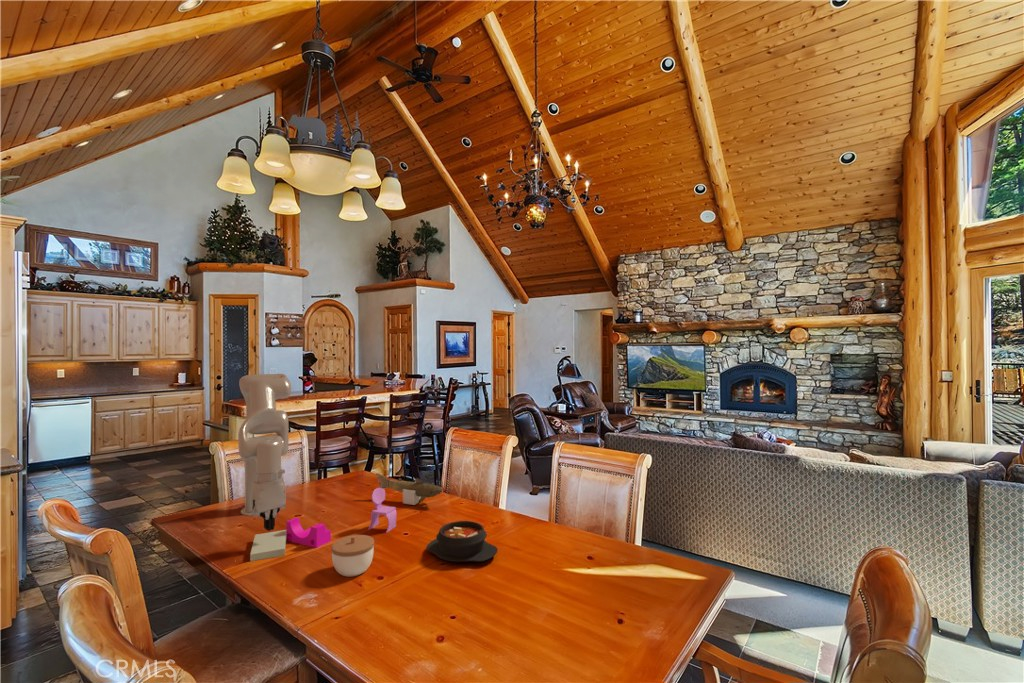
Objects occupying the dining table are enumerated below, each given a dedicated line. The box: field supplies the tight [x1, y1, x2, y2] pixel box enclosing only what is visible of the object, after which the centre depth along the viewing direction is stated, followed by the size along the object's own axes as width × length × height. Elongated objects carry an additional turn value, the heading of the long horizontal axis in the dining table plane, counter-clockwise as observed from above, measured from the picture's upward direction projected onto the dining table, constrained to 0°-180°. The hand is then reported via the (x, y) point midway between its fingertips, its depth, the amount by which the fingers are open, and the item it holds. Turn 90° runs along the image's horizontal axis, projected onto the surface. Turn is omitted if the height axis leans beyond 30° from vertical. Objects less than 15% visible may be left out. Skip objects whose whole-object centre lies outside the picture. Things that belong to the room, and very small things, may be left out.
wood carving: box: [375, 472, 444, 506], centre depth 204 cm, size 9×35×11 cm, turn 68°
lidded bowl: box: [330, 534, 375, 578], centre depth 141 cm, size 13×13×11 cm
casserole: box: [426, 520, 499, 563], centre depth 153 cm, size 25×19×8 cm
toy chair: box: [367, 487, 397, 533], centre depth 175 cm, size 8×9×15 cm
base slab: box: [249, 529, 287, 562], centre depth 157 cm, size 17×10×4 cm, turn 25°
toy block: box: [285, 517, 332, 549], centre depth 163 cm, size 15×6×8 cm, turn 65°
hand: (269, 529), depth 157 cm, fingers closed
